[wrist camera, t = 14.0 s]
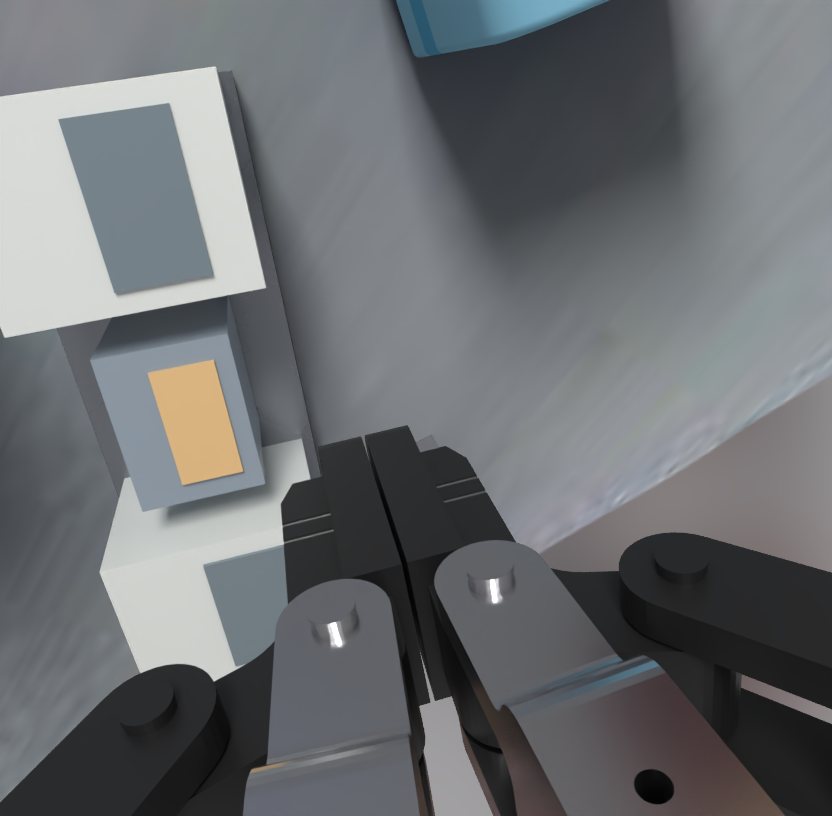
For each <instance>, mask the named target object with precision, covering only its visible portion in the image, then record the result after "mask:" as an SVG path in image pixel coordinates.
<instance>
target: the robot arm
mask: <svg viewBox="0 0 832 816" xmlns="http://www.w3.org/2000/svg"><path fill="white" fill-rule="evenodd" d="M365 442H366V447H367V452H368V456H367V453H366V450H365V447H364V444H363V441H362V438H361V437H357V438H352V439H348V440H344V441H340V442H336V443H331V444H327V445H323V446H319V447H318V450H319V455H320V461H321V466H322V471H323V476H322V477H318V478H314V479H309V480H305V481H301V482H297V483H293V484H292V485H291V487H290V489H289V490H288V492H287V494H286V496H285V497H284V499H283V501H282V502H281V516H282V526H283V528H282V530H283V541H284V557H285V571H286V585H287V599H288V605H287V606H286V607H285V609H284V610H283V612H282V613H281V615H280V616H279V619H278V621H277V624H276V630H275V641H274V642H273V643H272V644H271V645H270V646H269V647H268V648H267V649H266V650H265V651H264V652H263V653H262V654H260V655H259V656H258V657H256V658H255V659H254V660H252V661H250V662H249V663H247V664H245V665H244V666H242V667H240V668H238V669H236V670H235V671H233V672H231V673H229V674H227V675H225V676H223V677H221V678H220V679H218V680H216V681H213V679H212V678H211V677H210V675H209V674H208V673H207V672H205V671H204V670H203V669H201V668H199V667H196V666H193V665H188V664H171V665H164V666H160V667H156V668H153V669H150V670H147V671H145V672H142V673H140V674H138V675H136V676H134V677H132V678H131V679H129V680H127V681H126V682H124V683H123V684H121V685H120V686H119V687H117V688H116V689H114V690H113V691H112V692H111V693H110V694H109V695H108V696H107V697H106V698H104V699H103V700H102V701H101V702H100V703H99V704H98V705H97V706H96V707H95V708H94V709H93V710H92V711H91V712H90V713H89V714H88V715H87V716H86V717H85V718H84V719H83V720H82V721H81V722H80V723H79V724H78V725H77V726H76V727H75V728H74V729H73V730H72V731H71V732H70V733H69V734H68V735H67V736H66V737H65V738H64V739H63V740H62V741H61V742H60V743H59V744H58V745H57V746H56V747H55V748H54V749H53V750H52V751H51V752H50V753H49V754H48V755H47V756H46V757H45V758H44V759H43V760H42V761H41V762H40V763H39V764H38V765H37V766H36V767H35V768H34V769H33V770H32V771H31V772H30V773H29V774H28V775H27V776H26V777H25V778H24V779H23V780H22V781H21V782H20V783H19V784H18V785H17V786H16V787H15V788H14V789H13V790H12V791H11V792H10V793H9V794H8V795H7V796H6V797H5V798H4V799H3V800H2V801H1V802H0V816H435V812H434V807H433V801H432V795H431V790H430V783H429V777H428V771H427V766H426V760H425V756H424V751H423V750H424V746H425V733H424V727H423V722H422V718H421V713H420V708H419V706H420V705H424V704H427V703H430V698H429V693H428V689H427V684H426V679H425V674H424V669H423V664H422V659H423V662H424V665H425V668H426V672H427V675H428V678H429V682H430V685H431V688H432V692H433V695H434V699H435V701H436V700H440V699H443V698H446V697H450V696H452V698H453V701H454V704H455V707H456V710H457V713H458V716H459V721H460V727H461V732H462V737H463V743H464V747H465V750H466V752H467V755H468V757H469V760H470V762H471V764H472V767H473V769H474V771H475V774H476V776H477V778H478V781H479V783H480V786H481V788H482V790H483V792H484V795H485V797H486V800H487V802H488V804H489V807H490V809H491V811H492V814H493V816H832V724H830V723H827V722H825V721H823V720H820V719H817V718H815V717H813V716H810V715H808V714H805V713H803V712H800V711H797V710H795V709H793V708H790V707H788V706H785V705H783V704H780V703H778V702H775V701H773V700H770V699H768V698H765V697H763V696H760V695H758V694H755V693H753V692H750V691H747V690H745V689H743V688H741V676H742V674H743V675H745V676H748V677H751V678H753V679H756V680H758V681H761V682H764V683H766V684H769V685H771V686H774V687H776V688H779V689H781V690H784V691H787V692H789V693H792V694H794V695H797V696H800V697H802V698H805V699H807V700H810V701H812V702H815V703H817V704H820V705H822V706H825V707H827V708H830V709H832V573H831V572H827V571H824V570H820V569H817V568H813V567H810V566H806V565H803V564H799V563H795V562H792V561H788V560H785V559H781V558H777V557H774V556H771V555H767V554H764V553H760V552H757V551H753V550H749V549H746V548H742V547H739V546H735V545H732V544H728V543H725V542H721V541H717V540H714V539H711V538H707V537H704V536H699V535H695V534H688V533H661V534H656V535H651V536H648V537H645V538H643V539H640V540H638V541H637V542H635V543H633V544H632V545H630V546H629V547H628V548H627V549H626V550H625V551H624V553H623V555H622V556H621V559H620V562H619V571H612V572H611V571H609V572H568V571H561V570H555V569H552V568H550V567H549V566H548V564H547V563H546V562H545V560H544V559H543V558H542V557H541V556H540V555H539V554H538V553H537V552H536V551H534V550H533V549H531V548H529V547H527V546H525V545H522V544H519V543H516V542H515V540H514V538H513V536H512V535H511V533H510V531H509V530H508V528H507V526H506V525H505V523H504V521H503V519H502V518H501V516H500V514H499V513H498V511H497V509H496V507H495V506H494V504H493V502H492V501H491V499H490V497H489V496H488V494H487V493H486V492H485V489H484V487H483V485H482V484H481V482H480V480H479V478H478V479H477V475H476V473H475V472H474V470H473V468H472V467H471V465H470V463H469V461H468V460H467V458H466V457H464V456H462V455H460V454H459V453H457V452H455V451H453V450H452V449H450V448H448V447H446V446H444V447H440V448H436V449H432V450H427V451H423V452H420V450H419V448H418V446H417V444H416V442H415V440H414V438H413V435H412V433H411V431H410V429H409V427H408V426H407V425H406V426H402V427H398V428H394V429H389V430H385V431H381V432H377V433H373V434H369V435H365ZM368 457H369V459H368ZM369 462H370V463H369ZM420 652H421V654H420ZM421 655H422V659H421Z"/></svg>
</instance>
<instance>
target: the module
mask: <svg viewBox="0 0 832 816" xmlns="http://www.w3.org/2000/svg"><path fill="white" fill-rule="evenodd" d="M90 362H91V365H92V368H93V371H94V374H95V377H96V379H97V382H98V385H99V388H100V391H101V394H102V397H103V400H104V402H105V405H106V408H107V411H108V414H109V417H110V420H111V423H112V425H113V428H114V431H115V434H116V437H117V440H118V443H119V446H120V449H121V451H122V454H123V457H124V460H125V463H126V466H127V469H128V472H129V474H130V477H131V480H132V483H133V486H134V489H135V492H136V495H137V497H138V500H139V503H140V506H141V509H142V512H145V511H150V510H154V509H159V508H163V507H167V506H172V505H176V504H180V503H185V502H189V501H193V500H198V499H202V498H207V497H211V496H215V495H220V494H224V493H228V492H233V491H237V490H241V489H246V488H250V487H255V486H259V485H263V484H265V474H264V464H263V453H262V443H261V433H260V423H259V416H258V412H257V408H256V404H255V400H254V396H253V392H252V388H251V384H250V380H249V376H248V372H247V368H246V364H245V360H244V356H243V351H242V347H241V343H240V339H239V335H238V331H237V327H236V323H235V319H234V315H233V311H232V307H231V303H230V299H229V295H227V296H221V297H216V298H211V299H206V300H200V301H195V302H190V303H185V304H180V305H174V306H169V307H164V308H159V309H153V310H148V311H143V312H138V313H132V314H127V315H122V316H117V317H112V318H111V320H110V322H109V324H108V326H107V328H106V330H105V332H104V334H103V336H102V338H101V340H100V342H99V344H98V346H97V348H96V350H95V352H94V354H93V356H92V358H91V360H90Z"/></svg>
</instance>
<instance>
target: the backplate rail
mask: <svg viewBox="0 0 832 816" xmlns="http://www.w3.org/2000/svg"><path fill="white" fill-rule="evenodd" d="M218 73H219V78H220V82H221V87H222V91H223V95H224V100H225V104H226V109H227V113H228V117H229V122H230V126H231V131H232V135H233V139H234V144H235V148H236V152H237V157H238V161H239V166H240V170H241V174H242V179H243V183H244V188H245V192H246V196H247V201H248V205H249V210H250V214H251V218H252V223H253V227H254V231H255V236H256V240H257V245H258V249H259V254H260V259H261V264H262V270H263V275H264V280H265V285H266V288H263V289H258V290H253V291H248V292H242V293H237V294H232V295H229V299H230V303H231V307H232V311H233V315H234V319H235V323H236V327H237V331H238V335H239V339H240V343H241V347H242V351H243V356H244V360H245V364H246V368H247V372H248V376H249V380H250V384H251V388H252V392H253V396H254V400H255V404H256V408H257V412H258V416H259V423H260V433H261V443H262V447H266V446H270V445H274V444H279V443H283V442H288V441H292V440H297V439H301V438H302V442H303V447H304V451H305V455H306V460H307V464H308V468H309V473H310V477H311V479H314V478H318V477H321V473H320V469H319V464H318V460H317V455H316V451H315V446H314V442H313V437H312V432H311V428H310V423H309V419H308V414H307V410H306V405H305V401H304V396H303V392H302V387H301V382H300V378H299V373H298V369H297V364H296V360H295V355H294V351H293V346H292V342H291V337H290V333H289V328H288V323H287V319H286V314H285V310H284V305H283V301H282V296H281V292H280V287H279V283H278V278H277V273H276V269H275V264H274V260H273V255H272V251H271V246H270V242H269V237H268V233H267V228H266V224H265V219H264V214H263V210H262V205H261V201H260V196H259V192H258V187H257V183H256V178H255V174H254V169H253V164H252V160H251V155H250V151H249V146H248V142H247V137H246V133H245V128H244V124H243V119H242V115H241V110H240V105H239V101H238V96H237V92H236V87H235V83H234V78H233V74H232V71H225V72H218ZM110 320H111V318H106V319H101V320H96V321H91V322H85V323H80V324H75V325H70V326H64V327H59V328H57V331H58V334H59V336H60V339H61V342H62V344H63V347H64V350H65V353H66V355H67V358H68V361H69V363H70V366H71V369H72V372H73V374H74V377H75V380H76V382H77V385H78V388H79V391H80V393H81V396H82V399H83V401H84V404H85V407H86V410H87V412H88V415H89V418H90V420H91V423H92V426H93V429H94V431H95V434H96V437H97V439H98V442H99V445H100V448H101V450H102V453H103V456H104V458H105V461H106V464H107V466H108V469H109V472H110V475H111V477H112V480H113V483H114V485H115V488H116V491H117V494H118V496H119V497H120V493H121V490H122V486H123V482H124V478H129V477H130V474H129V472H128V469H127V466H126V463H125V460H124V457H123V454H122V451H121V449H120V446H119V443H118V440H117V437H116V434H115V431H114V428H113V425H112V423H111V420H110V417H109V414H108V411H107V408H106V405H105V402H104V400H103V397H102V394H101V391H100V388H99V385H98V382H97V379H96V377H95V374H94V371H93V368H92V365H91V362H90V360H91V358H92V356H93V354H94V352H95V350H96V348H97V346H98V344H99V342H100V340H101V338H102V336H103V334H104V332H105V330H106V328H107V326H108V324H109V322H110Z"/></svg>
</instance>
